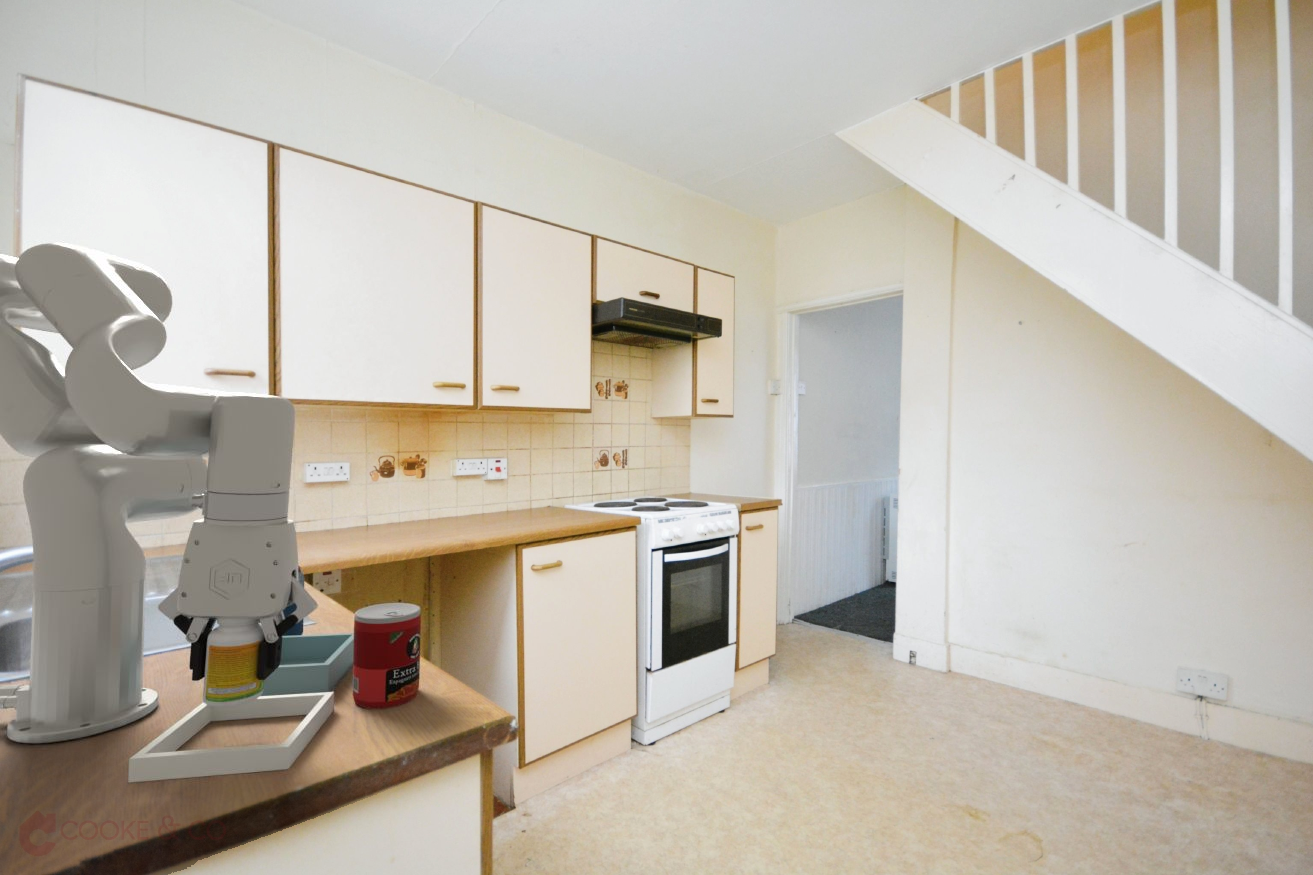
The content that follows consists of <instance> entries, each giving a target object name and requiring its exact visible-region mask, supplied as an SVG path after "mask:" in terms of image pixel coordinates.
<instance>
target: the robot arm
mask: <svg viewBox="0 0 1313 875" xmlns="http://www.w3.org/2000/svg"><path fill="white" fill-rule="evenodd" d="M172 308H173V296H172V292H171V288H170V287H169V284H168V283H167V282H166V281H165V279H164V278H163V276H161V275H160V274H159V273H158V272H157V271H155V270H153V269H152V268H150V267H148V266H145V265H144V264H141V263H138V262H135V261H131V260H128V259H124V258H121V257H117V256H115V255H110V254H108V253H104V252H101V251H98V250H94V249H89V248H87V247H83V246H79V245H75V244H74V245H73V244H70V243H69V244H68V243H62V242H61V243H59V242H55V243H54V242H51V243H50V242H49V243H41V244H37V245H34V246H31V247H30V248H27V249H26V250H24V251H23V252H22V253H21V254H20V255H19V256H18V257H13V256H9V255H6V254H2V253H0V436H1V437H2V439H3V440H4V441H5V442H6V444H7V445H9V447H11V449H13V450H14V451H15V452H17V453H19V454H21V455H24V456H26V457H30V458H35V459H34V460H33V461H32V462H31V463H30V464H29V466H28V467H27V469H26V470H25V473H24V475H23V480H22V490H23V491H22V492H23V493H22V494H23V498H24V502H25V507H26V511H27V515H28V520H29V525H30V529H31V530H30V531H31V539H32V553H33V554H32V555H33V557H32V558H33V562H32V564H33V565H32V566H33V569H32V570H33V572H32V575H33V576H32V607H31V608H32V609H31V610H32V612H31V633H30V634H31V637H30V660H29V661H30V662H29V664H30V666H29V684H20V683H19V684H5V685H1V686H0V710H5V709H13V708H14V710H16V711H15V713H16V715H15V717H14V718H12V719H11V721H10V722H8V724H7V727H6V730H7V732H6V737H7V738H8V739H10V740H11V741H13V742H17V743H22V744H45V743H57V742H64V741H69V740H70V741H71V740H75V739H82V738H85V737H89V736H95V735H97V734H101V733H105V732H109V731H112V730H114V729H117V728H120V727H123V726H126V725H128V724H130V723H132V722H136V721H137V720H140V719H142V718H143V717H145V716H147V715H148V714H150V713H151V712H153V711H154V710H155V709H156V708H157V706H158V705H159V698H160V696H159V693H158V692H157V691H156V690H154V689H151V688H149V687H148V688H147V687H143V680H144V679H143V677H144V676H143V675H144V674H143V673H144V649H145V648H144V645H145V644H144V643H145V619H146V618H145V610H146V585H147V584H146V583H147V582H146V580H147V578H146V577H147V576H146V575H147V574H146V573H147V567H146V566H147V565H146V564H147V563H146V557H145V554H144V551H143V549H142V547H141V545H140V544H139V543H138V541H137V540H136V539H135V537H134V536H133V535H132V533H131V531H129V529H128V527H127V524H132V523H138V522H140V523H141V522H148V521H149V522H150V521H157V520H166V519H173V518H180V517H185V516H187V515H190V514H192V513H194V512H196V511H197V510H199V509H200V510H201V516H203V518H201V519H196V520H194V521H193V523H192V526H191V529H190V531H189V534H188V537H187V541H186V545H185V549H184V552H183V556H182V562H181V566H180V572H179V578H178V583H177V587H176V588H175V589H174V590H173V591H172V592H171V593H170V594H169V595H168V596H166V597H165V599H163V600H162V601H161V602H160V603H159V604H158V606H157V609H158V611H160V612H161V613H162V614H163V616H165V617H167V618H168V619H169V620H171V621H172V622H173V624H174V626H175V627H177V629H178V630H179V631H180V632H182V633H183V634H184V635H185V640H186V641H187V642H188V643H190V654H189V664H188V665H189V666H188V667H189V670H191V671H192V673H191V680H192V681H193V682H199V681H201V680H203V679H204V676H205V663H206V649H207V639H208V635H209V633H210V632H211V631H212V630H213V629H214V627H215V625H216V623H217V618H259V619H260V622H261V626H262V629H263V633H264V641H263V642H262V643H260V645H259V652H258V665H257V679H258V680H265V679H266V678H267V677H268V676H269V675H271V674H272V673H273V672H274V671H275V669H277V668H278V667H279V665H280V661H281V649H282V636H283V635H284V634H285V633H286V632H288V631H289V630H290V629H291V628H292V627H293V626H295V625H296V624H297V623H298V622H300V621H301V620H302V619H303V620H305V618H307V617H308V616H309V615H310V614H312V613H313V612H314V611H315V610H316V609H318V606H319V604H318V603H317V601H316V600H315V599H314V598H313V596H312V595H310V593H309V592H308V590H306V589H305V586H304V587H303V586H302V585H301V584H300V583H299V582H298V566H299V551H298V543H297V534H296V529H295V528H296V527H295V524H294V520H293V519H288V513H289V503H290V502H289V501H290V488H291V474H292V461H293V459H292V458H293V446H294V432H295V420H296V409H295V406H294V404H293V402H292V401H291V400H289V399H288V398H286V397H282V396H277V395H268V394H258V393H245V392H226V391H219V390H212V389H211V390H210V389H203V388H202V389H201V388H195V387H186V386H177V385H171V384H170V385H169V384H158V383H157V384H156V383H147V382H145V381H143V380H142V379H140V378H139V377H138V376H137V375H136V374H135V373H134V372H133V371H134V370H136V369H137V370H138V369H139V368H141V367H143V366H146V365H148V364H149V363H150V362H152V361H153V360H154V359H156V358H157V356H159V354H161V352H162V351H163V350H164V348H165V345H166V343H167V337H168V334H167V329H166V327H165V326H164V324H163V323H164V322H165V321H166V320H168V319H167V318H169V316H170V313H171V312H172ZM16 327H18V328H23V329H29V330H37V331H42V332H47V333H48V332H49V333H54V334H60V336H61V337H62V338H63V339H64V340H65V341H66V342H67V343H68V345H69V346H70V347H71V348H72V350H71V351H70V353H69V355H68V357H67V360H66V363H65V366H64V367H63V365H62V363H61V362H60V361H59V360H58V358H57V357H56V355H55V354H54V353H53V352H52V351H51V350H49V349H48V347H46V346H45V345H43V344H42V343H41V342H39V341H38V340H36V339H35V338H33V337H32V336H30V335H28V334H27V333H25V332H23V331H22V330H20V329H18V328H16ZM204 457H208V461H207V463H206V461H205V459H204ZM293 603H295V604H296V605H297V609H296V611H294V612H293V613H292V614H290V615H289V616H288V617H286V618H285V617H284V614H283V610H284V609H285V608H286V607H287V606H290V605H292V604H293Z"/></svg>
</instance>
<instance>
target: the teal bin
mask: <svg viewBox="0 0 1313 875" xmlns="http://www.w3.org/2000/svg"><path fill="white" fill-rule="evenodd" d="M353 650H354V632H347V633H344V632H343V633H341V632H340V633H323V634H319V633H318V634H302V635H295V636H282V649H281V661H280V665H279V667H278V668H277V669H275V671H274V672H273V673H272V674H271V675H269V676H268V677H267V678H266V679H265V680H264V690H263V693H262V695H261V696H273V695H289V694H306V693H322V692H334V690H335V689H336V688H337V687H338V686H339V684H341V682H342V680H343V679H344V678H345V677H346V676H347V675H348V673H349V672H350V671H351V670H352V669H353ZM350 669H351V670H350ZM335 687H336V688H335Z"/></svg>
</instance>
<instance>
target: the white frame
mask: <svg viewBox="0 0 1313 875" xmlns="http://www.w3.org/2000/svg"><path fill="white" fill-rule="evenodd" d="M334 706H335V691H332V692H322V693H306V694H289V695H273V696H260V697H258V698H257V699H255V700H253V701H250V702H248V703H245V704H241V705H237V706H231V707H213V706H209V705H207V704H205V703H204V701H203V702H202V703H200V704H199V705H198V706H196V707H195V708H194V709H192V710H191V711H190V712H188V713H187V714H186V715H185V716H183V717H182V718H181V719H180V720H178V721H177V722H175V723H174V724H173V725H172V726H170V727H169V728H167V729H166V730H165V731H164V732H162V733H161V734H160V735H158V736H157V737H156V738H155V739H153V740H152V741H151V742H149V743H148V744H147V745H145V746H144V747H143V748H141V749H140V750H139V751H137V752H136V753H135V754H134V755H132V756H131V757H129V759H128V760H129V761H128V782H127V783H140V782H151V781H161V780H162V781H163V780H174V779H187V778H189V779H190V778H198V777H209V776H211V777H212V776H222V775H235V774H248V773H257V772H258V773H259V772H273V771H282V770H289V769H290V767H291V766H292V765H293V764H294V762H295V761H296V760H297V759H298V757H299V756H300V754H301V753H302V752H303V751H304V749H305V748H306V747H307V746H308V744H309V743H310V742H311V741H312V739H313V738H314V737H315V735H316V734H317V732H318V731H320V729H321V727H322V726H323V725H324V723H325V722H327V720H328V719H329V717H330V716H331V714H332V713H334V711H335V710H334V709H335V707H334ZM304 715H305V717H304V718H303V719H302V721H301V722H300V723H299V724H298V725H297V727H296V728H295V729H294V730H293V731H292V732H291V733H290V735H289V736H288V737H287V738H286V740H284V742H283V743H272V744H271V743H270V744H269V743H268V744H257V745H255V744H254V745H245V746H231V747H230V746H229V747H218V748H217V747H215V748H204V749H203V748H202V749H191V750H190V749H189V750H179V748H180V747H182V745H184V744H185V743H186V742H187V741H189V740H190V739H191V738H192V737H194V736H195V735H196V734H197V733H198V732H200V731H201V730H202V729H203V728H204V727H206V726H207V725H208V724H209V723H210V722H218V721H233V720H246V719H247V720H248V719H249V720H250V719H260V718H261V719H263V718H278V717H290V716H291V717H292V716H293V717H295V716H304Z"/></svg>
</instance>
